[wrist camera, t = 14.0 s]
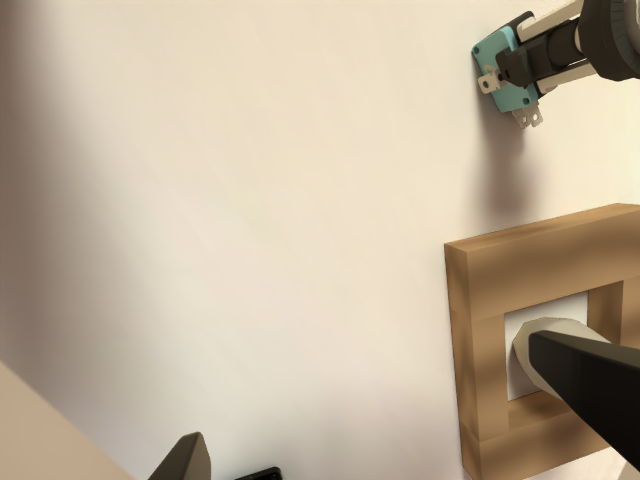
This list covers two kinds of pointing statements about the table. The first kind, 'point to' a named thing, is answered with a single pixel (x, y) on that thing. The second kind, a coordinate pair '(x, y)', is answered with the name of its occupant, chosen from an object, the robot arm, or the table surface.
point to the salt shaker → (552, 325)
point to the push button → (558, 52)
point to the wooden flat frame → (523, 291)
